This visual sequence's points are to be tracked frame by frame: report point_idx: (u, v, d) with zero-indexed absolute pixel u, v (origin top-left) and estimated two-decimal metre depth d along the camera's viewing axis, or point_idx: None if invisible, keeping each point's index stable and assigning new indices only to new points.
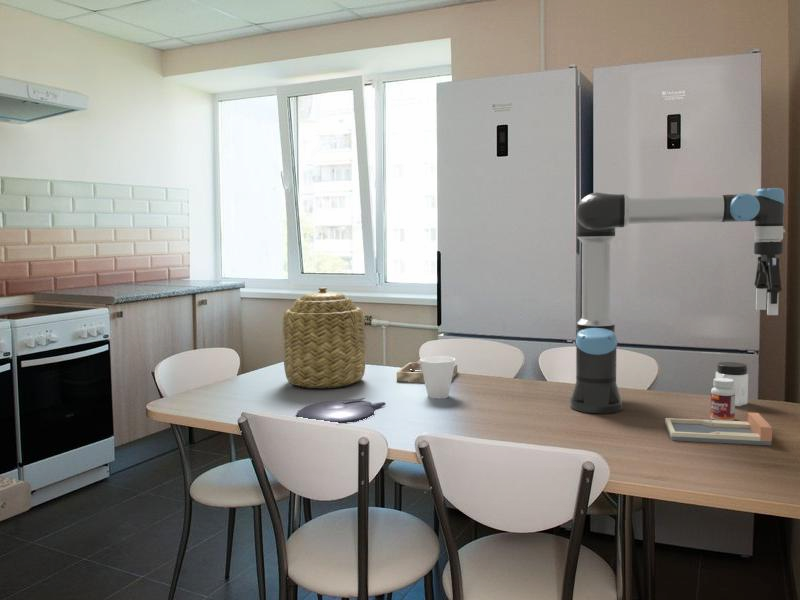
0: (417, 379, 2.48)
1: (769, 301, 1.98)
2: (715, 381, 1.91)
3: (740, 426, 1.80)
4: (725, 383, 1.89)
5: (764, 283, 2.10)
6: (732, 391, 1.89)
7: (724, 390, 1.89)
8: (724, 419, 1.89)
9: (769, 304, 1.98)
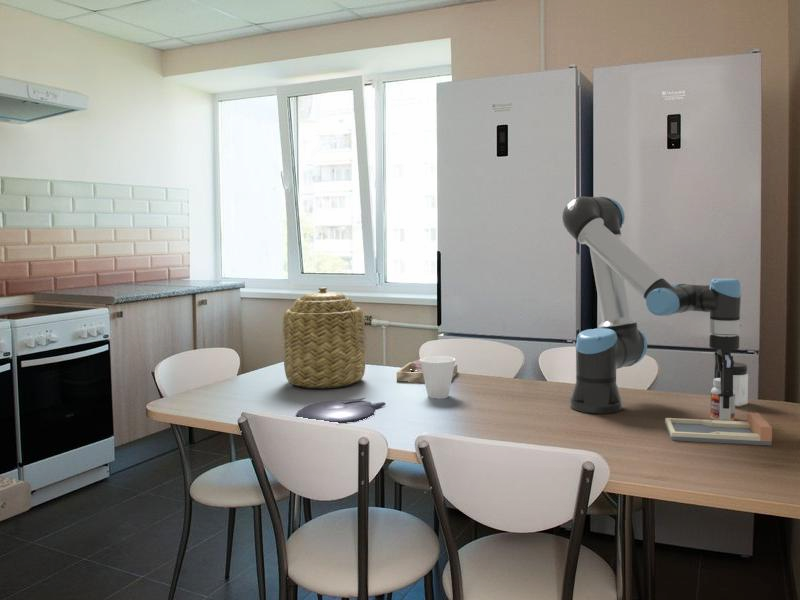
0: (417, 379, 2.48)
1: (721, 405, 1.89)
2: (715, 381, 1.91)
3: (740, 426, 1.80)
4: None
5: None
6: None
7: None
8: None
9: (721, 408, 1.89)
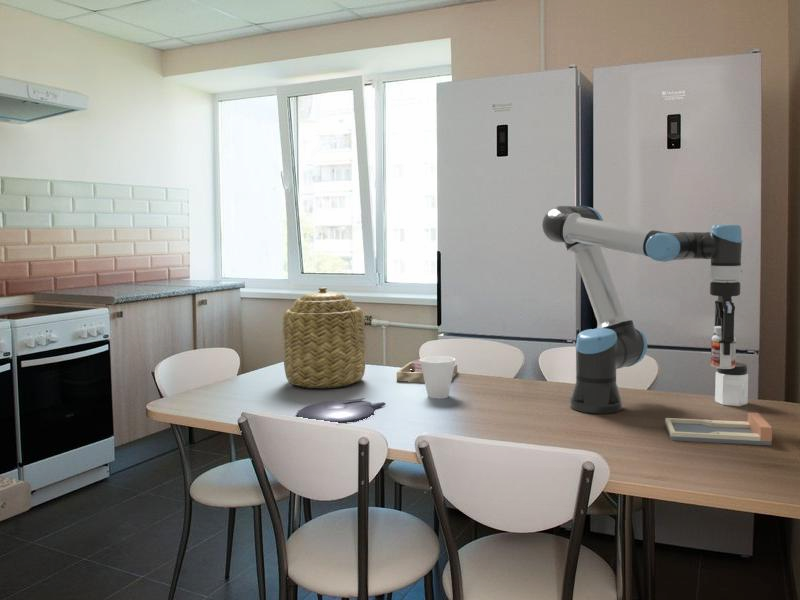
0: (417, 379, 2.48)
1: (722, 352, 1.87)
2: (716, 328, 1.89)
3: (740, 426, 1.80)
4: None
5: None
6: None
7: None
8: None
9: (722, 355, 1.87)
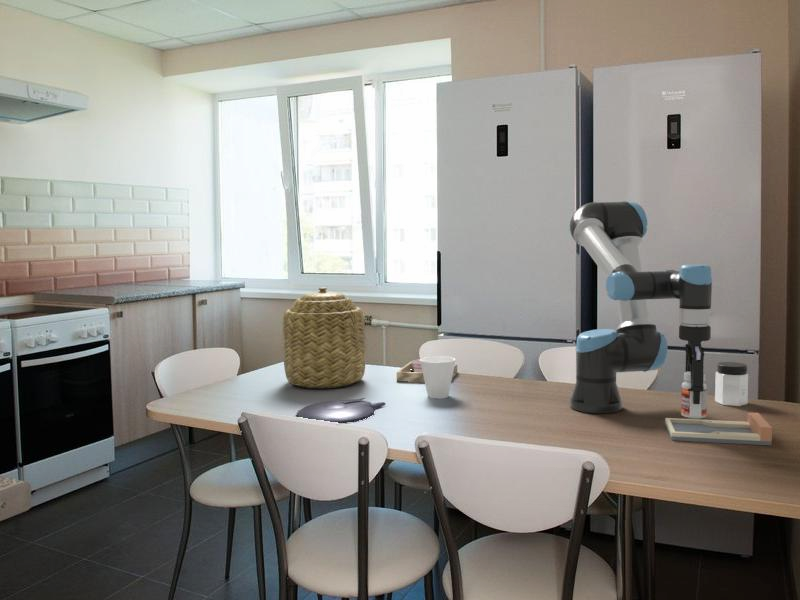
0: (417, 379, 2.48)
1: (691, 400, 1.75)
2: (685, 375, 1.78)
3: (740, 426, 1.80)
4: None
5: None
6: (703, 385, 1.76)
7: None
8: (695, 416, 1.76)
9: (691, 404, 1.75)
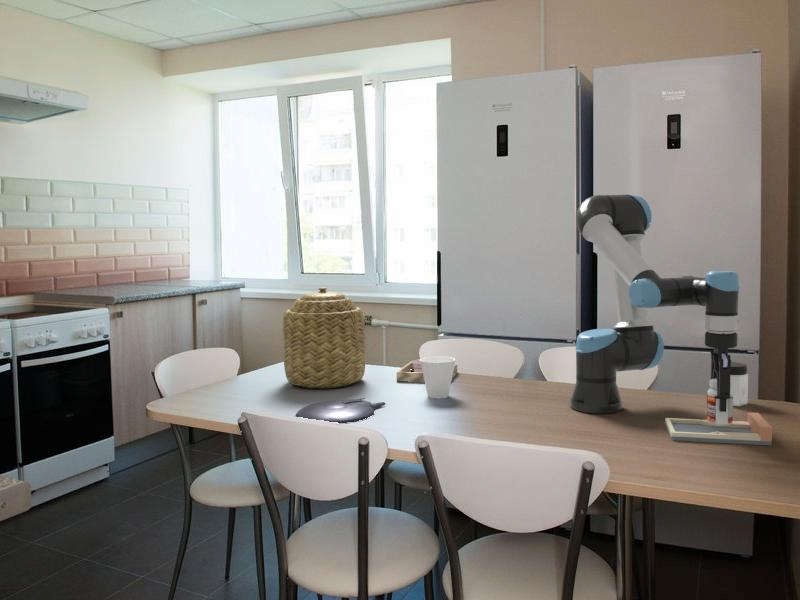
0: (417, 379, 2.48)
1: (717, 408, 1.74)
2: (711, 382, 1.76)
3: (740, 426, 1.80)
4: None
5: None
6: (730, 393, 1.74)
7: None
8: None
9: (718, 411, 1.74)
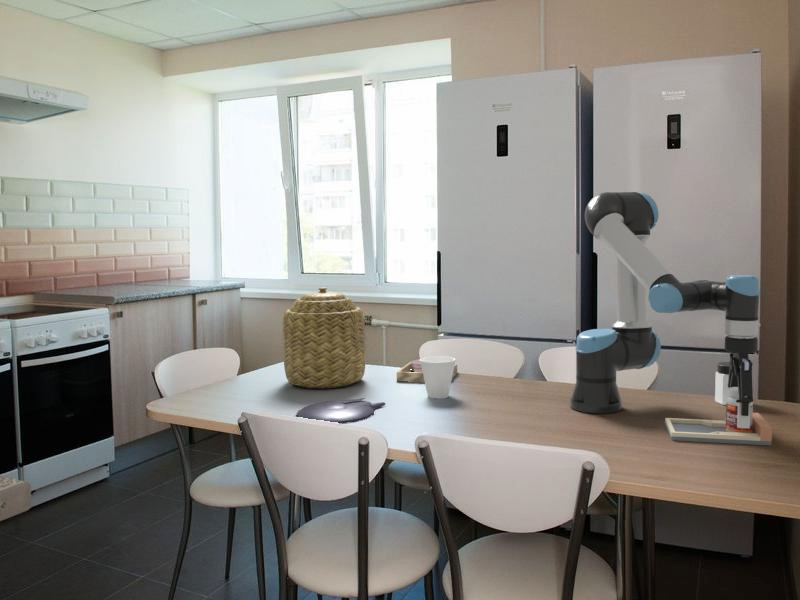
0: (417, 379, 2.48)
1: (739, 412, 1.71)
2: (731, 390, 1.75)
3: None
4: None
5: None
6: None
7: None
8: (741, 432, 1.74)
9: (739, 415, 1.71)
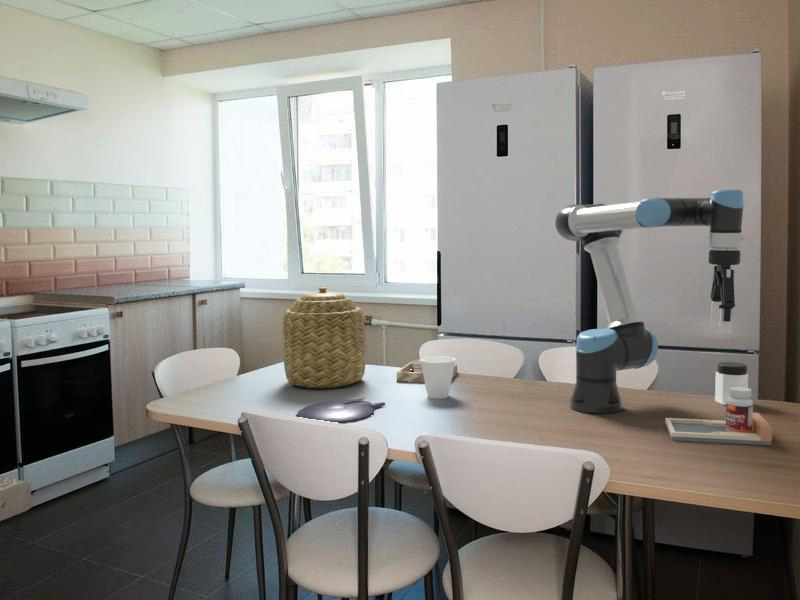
0: (417, 379, 2.48)
1: (722, 318, 1.75)
2: (731, 390, 1.75)
3: None
4: (742, 393, 1.73)
5: (720, 296, 1.87)
6: (750, 401, 1.74)
7: (741, 401, 1.74)
8: (741, 432, 1.74)
9: (722, 321, 1.75)
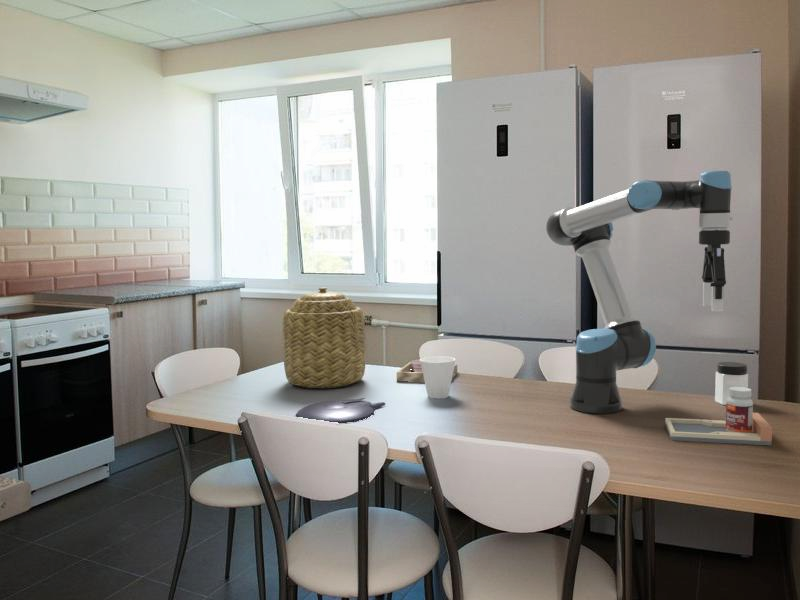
0: (417, 379, 2.48)
1: (713, 296, 1.79)
2: (731, 390, 1.75)
3: None
4: (742, 393, 1.73)
5: (711, 276, 1.91)
6: (750, 401, 1.74)
7: (741, 401, 1.73)
8: (741, 432, 1.74)
9: (713, 299, 1.79)
